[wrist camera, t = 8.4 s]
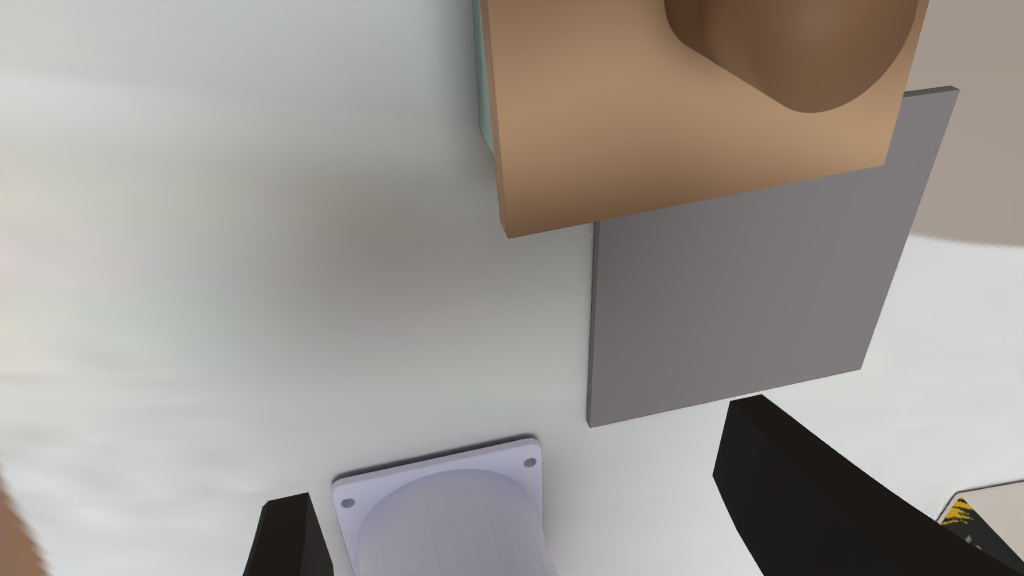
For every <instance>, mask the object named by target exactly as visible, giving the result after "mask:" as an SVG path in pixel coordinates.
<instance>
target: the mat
mask: <svg viewBox="0 0 1024 576" xmlns="http://www.w3.org/2000/svg"><path fill="white" fill-rule="evenodd" d="M959 91H960V90H959V89H957V88H955V87H953V86H945V87H937V88H929V89H922V90H915V91H907V92H904V94H903V98H902V101H901V105H900V109H899V112H898V116H897V120H896V123H895V127H894V131H893V134H892V138H891V141H890V145H889V149H888V152H887V156H886V160H885V163H884V165H882V166H877V167H872V168H867V169H862V170H856V171H851V172H846V173H841V174H836V175H831V176H826V177H821V178H816V179H810V180H805V181H800V182H795V183H790V184H785V185H780V186H775V187H770V188H764V189H759V190H754V191H749V192H744V193H739V194H734V195H729V196H724V197H718V198H713V199H708V200H703V201H698V202H693V203H688V204H683V205H678V206H672V207H667V208H662V209H657V210H652V211H647V212H642V213H637V214H632V215H626V216H621V217H616V218H611V219H606V220H601V221H596V222H595V241H594V264H593V287H592V310H591V333H590V356H589V379H588V402H587V422H588V425H589V427H590V428H592V427H597V426H602V425H606V424H611V423H615V422H620V421H625V420H629V419H634V418H639V417H643V416H648V415H652V414H657V413H662V412H666V411H671V410H675V409H680V408H685V407H689V406H694V405H698V404H703V403H708V402H712V401H717V400H722V399H726V398H731V397H735V396H740V395H745V394H749V393H754V392H758V391H763V390H768V389H772V388H777V387H781V386H786V385H791V384H795V383H800V382H805V381H809V380H814V379H818V378H823V377H828V376H832V375H837V374H841V373H846V372H851V371H855V370H860V369H861V366H862V364H863V361H864V358H865V355H866V352H867V349H868V347H869V344H870V341H871V338H872V335H873V333H874V330H875V327H876V324H877V321H878V319H879V316H880V313H881V310H882V307H883V305H884V302H885V299H886V296H887V293H888V291H889V288H890V285H891V282H892V279H893V276H894V274H895V271H896V268H897V265H898V262H899V260H900V257H901V254H902V251H903V248H904V246H905V243H906V240H907V237H908V234H909V232H910V229H911V226H912V223H913V220H914V217H915V215H916V212H917V209H918V206H919V203H920V201H921V198H922V195H923V192H924V189H925V187H926V184H927V181H928V178H929V175H930V173H931V170H932V167H933V164H934V161H935V158H936V156H937V153H938V150H939V147H940V144H941V142H942V139H943V136H944V133H945V130H946V128H947V125H948V122H949V119H950V116H951V113H952V111H953V108H954V105H955V102H956V100H957V97H958V94H959Z"/></svg>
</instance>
